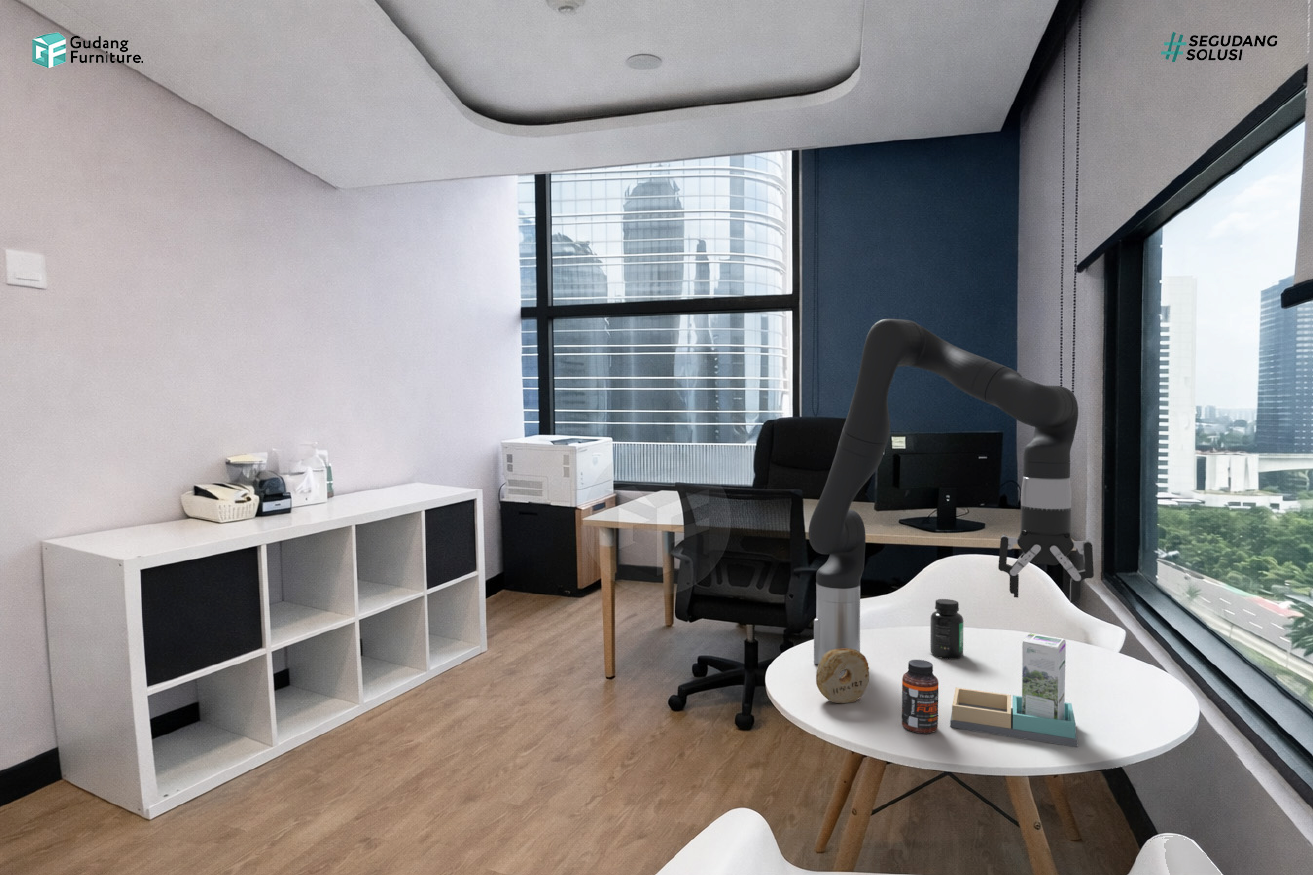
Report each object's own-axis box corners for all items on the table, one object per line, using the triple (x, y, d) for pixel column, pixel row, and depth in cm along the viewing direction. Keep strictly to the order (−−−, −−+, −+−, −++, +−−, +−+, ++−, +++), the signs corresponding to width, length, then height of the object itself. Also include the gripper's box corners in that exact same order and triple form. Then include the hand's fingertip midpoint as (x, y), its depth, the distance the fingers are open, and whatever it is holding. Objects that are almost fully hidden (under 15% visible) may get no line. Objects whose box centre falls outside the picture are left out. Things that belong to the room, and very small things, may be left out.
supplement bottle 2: (969, 658, 166) (970, 604, 166) (942, 660, 165) (942, 606, 164) (950, 648, 173) (951, 596, 172) (924, 651, 171) (924, 598, 171)
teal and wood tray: (950, 726, 131) (950, 705, 130) (954, 706, 140) (954, 686, 139) (1077, 747, 122) (1077, 724, 122) (1072, 723, 131) (1072, 702, 131)
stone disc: (861, 694, 146) (861, 642, 146) (871, 701, 142) (871, 648, 142) (812, 700, 143) (812, 647, 143) (821, 707, 140) (821, 654, 139)
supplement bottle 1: (918, 737, 127) (918, 670, 126) (894, 724, 132) (894, 660, 132) (945, 731, 129) (946, 665, 128) (920, 718, 134) (921, 655, 134)
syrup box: (1065, 721, 129) (1066, 637, 129) (1057, 733, 125) (1058, 646, 124) (1029, 713, 133) (1030, 631, 133) (1020, 724, 129) (1021, 639, 128)
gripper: (999, 504, 127) (997, 600, 128) (1096, 509, 121) (1094, 609, 122) (999, 499, 134) (998, 590, 135) (1092, 503, 128) (1090, 598, 129)
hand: (1044, 599), depth 128 cm, fingers open, 8 cm apart
